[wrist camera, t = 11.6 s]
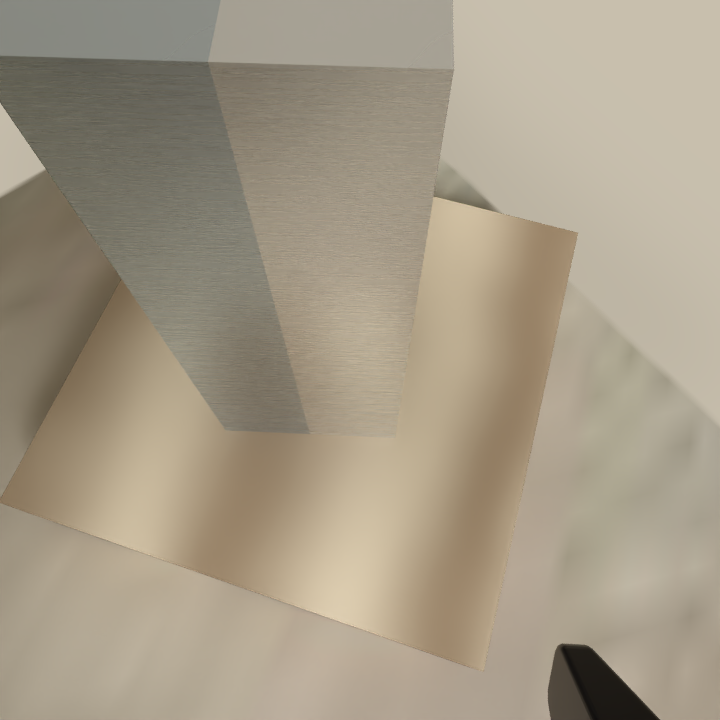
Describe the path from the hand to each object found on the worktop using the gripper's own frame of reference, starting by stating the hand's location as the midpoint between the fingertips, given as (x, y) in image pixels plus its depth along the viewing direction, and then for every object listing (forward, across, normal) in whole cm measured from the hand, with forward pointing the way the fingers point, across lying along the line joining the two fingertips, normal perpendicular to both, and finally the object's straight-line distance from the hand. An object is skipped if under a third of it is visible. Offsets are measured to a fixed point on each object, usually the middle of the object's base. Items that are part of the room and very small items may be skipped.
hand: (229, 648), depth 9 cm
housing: (+11, 0, 0) cm, 11 cm away
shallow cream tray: (+14, 0, +2) cm, 14 cm away
